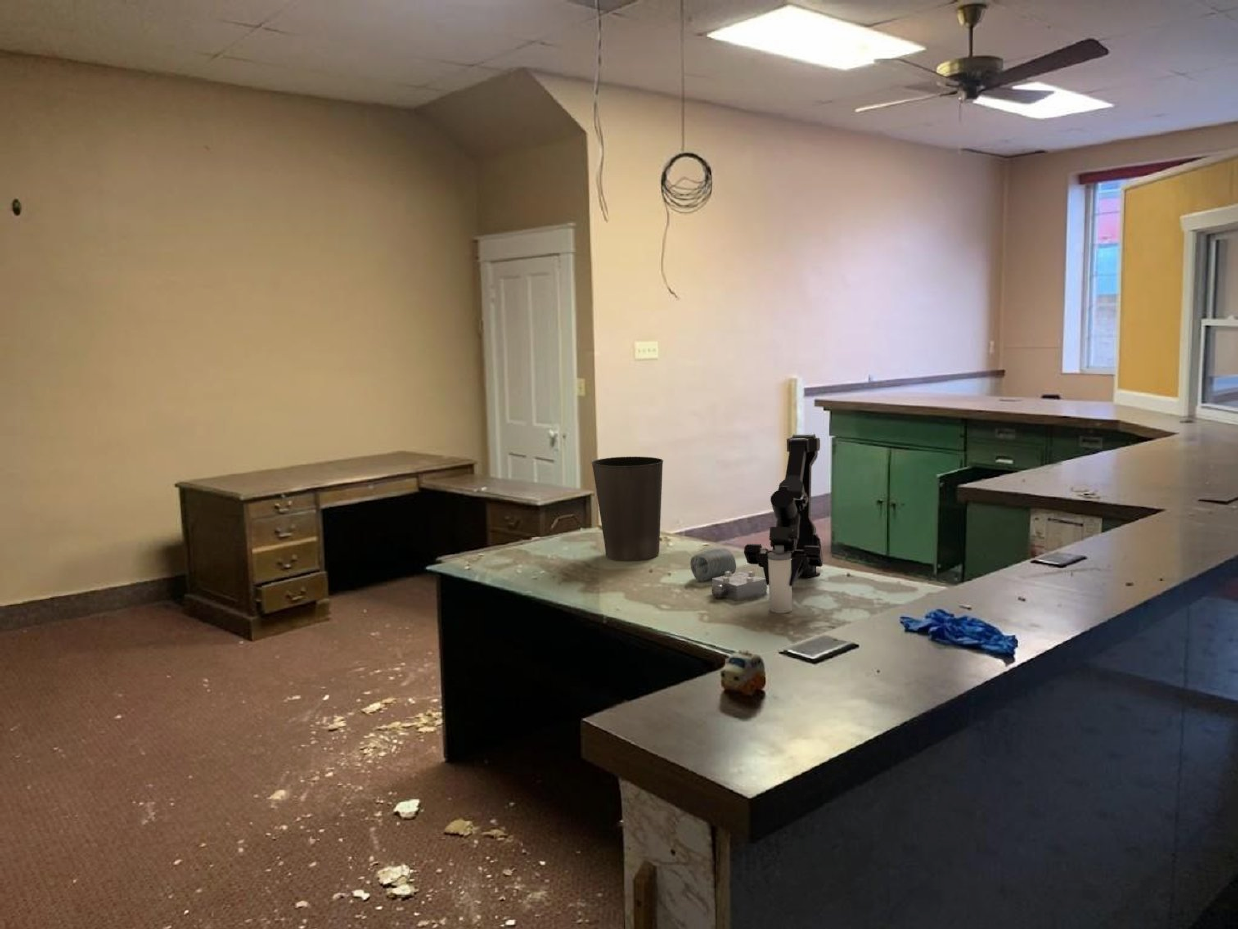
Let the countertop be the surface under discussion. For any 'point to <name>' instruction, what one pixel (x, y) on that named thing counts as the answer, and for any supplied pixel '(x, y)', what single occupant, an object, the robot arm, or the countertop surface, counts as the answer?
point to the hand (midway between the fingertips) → (779, 585)
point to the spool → (712, 564)
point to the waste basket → (629, 505)
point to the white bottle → (780, 580)
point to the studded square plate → (739, 586)
